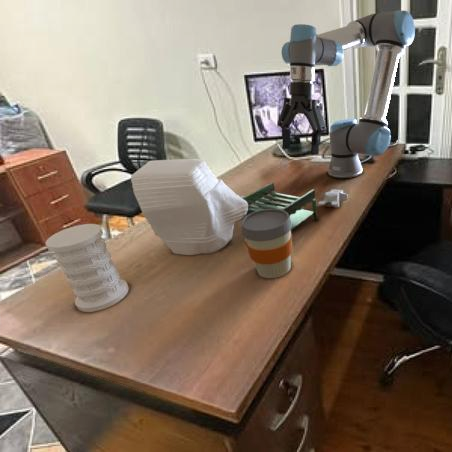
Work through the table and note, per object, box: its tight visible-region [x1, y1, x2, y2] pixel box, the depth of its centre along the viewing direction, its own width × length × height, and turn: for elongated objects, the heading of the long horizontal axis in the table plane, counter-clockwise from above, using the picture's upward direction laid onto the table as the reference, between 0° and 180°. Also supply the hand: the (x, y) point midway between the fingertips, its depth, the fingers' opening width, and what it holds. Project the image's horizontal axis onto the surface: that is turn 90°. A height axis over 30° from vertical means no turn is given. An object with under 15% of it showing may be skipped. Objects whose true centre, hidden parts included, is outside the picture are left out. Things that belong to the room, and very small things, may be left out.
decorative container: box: [45, 223, 130, 313], centre depth 84 cm, size 12×12×18 cm
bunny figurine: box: [316, 189, 349, 208], centre depth 127 cm, size 10×5×15 cm
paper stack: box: [130, 158, 248, 256], centre depth 101 cm, size 21×27×26 cm
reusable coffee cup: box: [240, 209, 293, 279], centre depth 91 cm, size 13×13×15 cm
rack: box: [242, 181, 319, 232], centre depth 114 cm, size 16×18×11 cm
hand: (299, 151), depth 115 cm, fingers open, 13 cm apart
